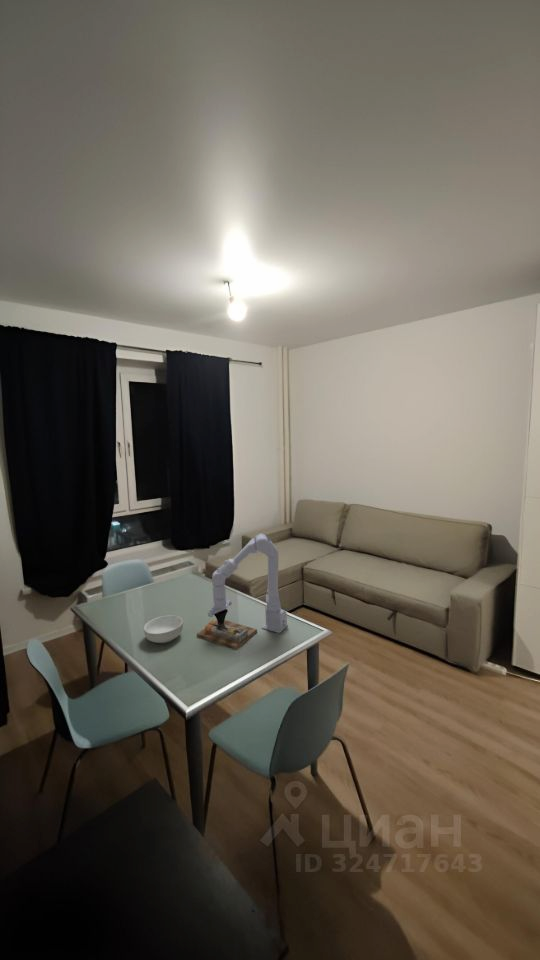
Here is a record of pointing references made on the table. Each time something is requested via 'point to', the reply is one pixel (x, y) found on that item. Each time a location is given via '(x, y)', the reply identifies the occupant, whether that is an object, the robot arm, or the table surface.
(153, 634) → the cereal bowl
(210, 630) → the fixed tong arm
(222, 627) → the tong arm
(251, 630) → the board
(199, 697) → the table surface
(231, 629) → the tab
